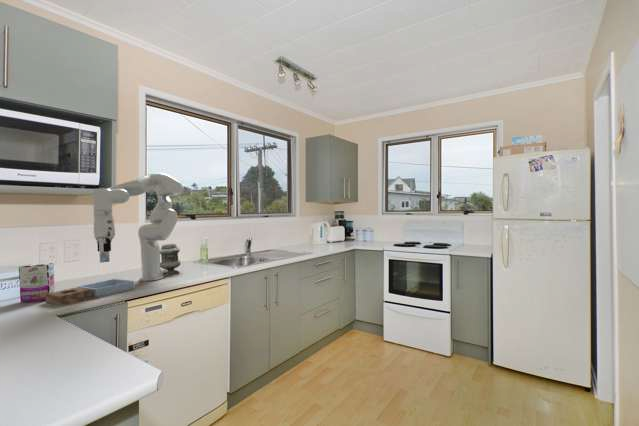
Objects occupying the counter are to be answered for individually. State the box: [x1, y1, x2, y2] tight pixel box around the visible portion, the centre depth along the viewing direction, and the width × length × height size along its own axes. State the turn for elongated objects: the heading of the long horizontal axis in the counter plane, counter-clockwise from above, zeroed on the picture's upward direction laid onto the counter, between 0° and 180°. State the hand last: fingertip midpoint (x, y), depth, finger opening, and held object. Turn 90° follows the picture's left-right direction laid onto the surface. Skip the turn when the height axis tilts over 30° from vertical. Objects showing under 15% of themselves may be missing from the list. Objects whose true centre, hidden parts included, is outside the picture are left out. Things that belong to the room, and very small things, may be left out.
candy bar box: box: [18, 262, 56, 303], centre depth 145 cm, size 11×5×16 cm, turn 105°
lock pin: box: [98, 237, 111, 263], centre depth 157 cm, size 4×4×12 cm
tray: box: [76, 278, 135, 299], centre depth 157 cm, size 18×16×4 cm
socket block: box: [45, 286, 93, 307], centre depth 143 cm, size 12×12×4 cm
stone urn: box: [160, 243, 182, 276], centre depth 201 cm, size 12×12×18 cm
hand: (104, 250), depth 157 cm, fingers closed on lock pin, 4 cm apart
